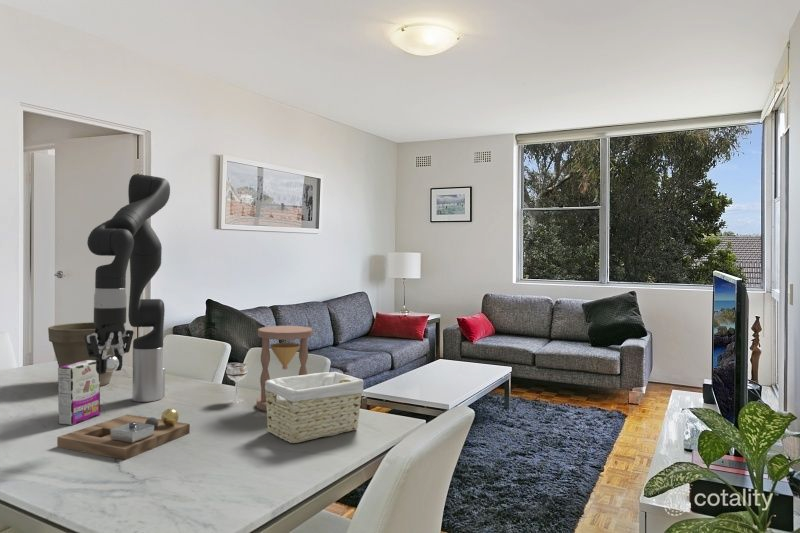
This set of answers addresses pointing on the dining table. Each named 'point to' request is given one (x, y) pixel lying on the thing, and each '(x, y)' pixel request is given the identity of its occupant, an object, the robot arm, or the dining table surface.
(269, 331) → the hourglass
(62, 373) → the candy bar box
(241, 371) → the wineglass
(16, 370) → the dining table surface
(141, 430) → the steel cover
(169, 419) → the brass ball
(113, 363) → the steel ball
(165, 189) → the robot arm
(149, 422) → the black rubber ball
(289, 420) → the storage basket
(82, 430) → the walnut board
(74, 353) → the plant pot
